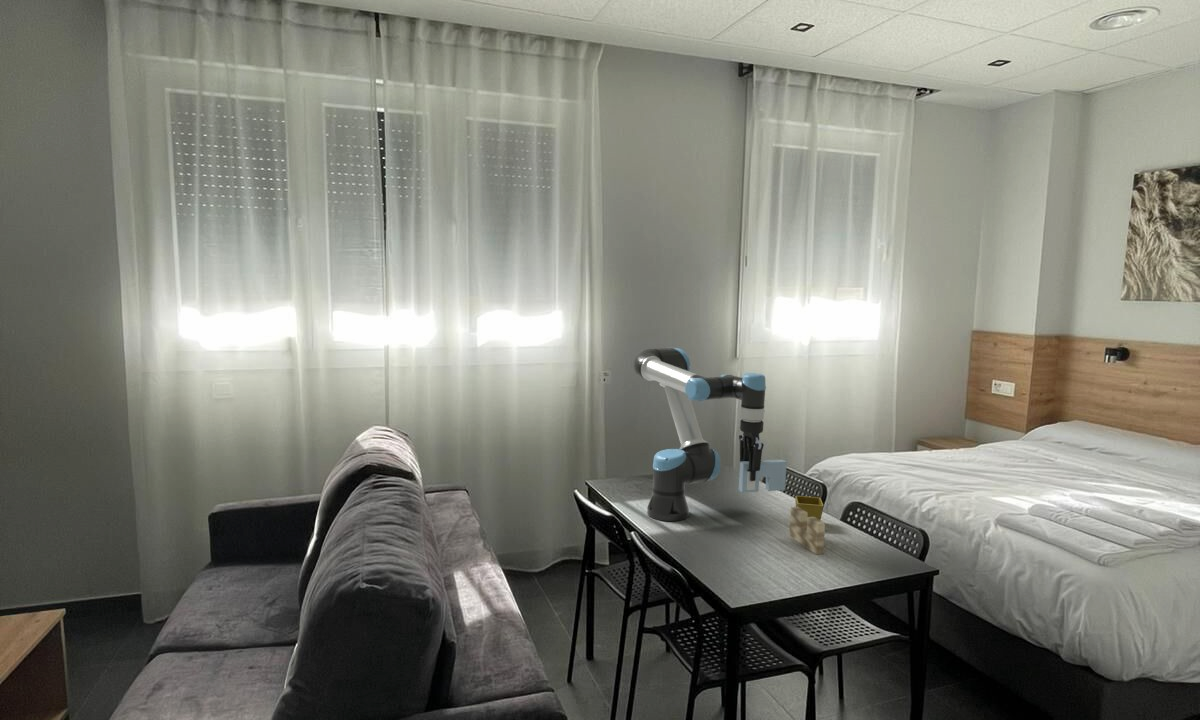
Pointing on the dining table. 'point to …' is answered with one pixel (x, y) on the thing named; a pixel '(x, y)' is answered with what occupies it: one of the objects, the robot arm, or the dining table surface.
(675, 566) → the dining table surface
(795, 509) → the tan wooden block
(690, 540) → the dining table surface
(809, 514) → the flower pot
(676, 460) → the robot arm
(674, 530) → the dining table surface
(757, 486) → the pale blue upright slab
